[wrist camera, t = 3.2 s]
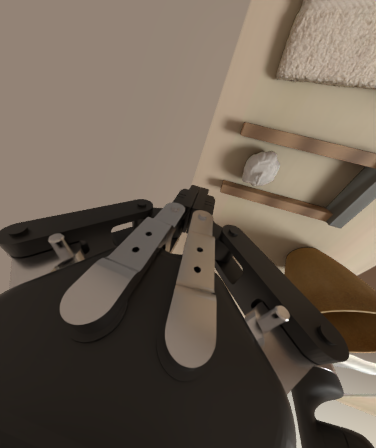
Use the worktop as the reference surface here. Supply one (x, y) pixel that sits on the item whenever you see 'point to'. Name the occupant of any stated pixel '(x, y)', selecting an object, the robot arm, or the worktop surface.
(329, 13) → the washcloth
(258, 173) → the garlic
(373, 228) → the worktop surface
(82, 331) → the robot arm
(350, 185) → the guide track
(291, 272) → the plant pot
